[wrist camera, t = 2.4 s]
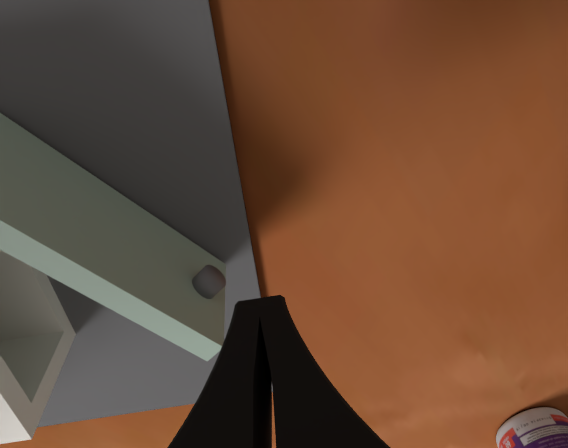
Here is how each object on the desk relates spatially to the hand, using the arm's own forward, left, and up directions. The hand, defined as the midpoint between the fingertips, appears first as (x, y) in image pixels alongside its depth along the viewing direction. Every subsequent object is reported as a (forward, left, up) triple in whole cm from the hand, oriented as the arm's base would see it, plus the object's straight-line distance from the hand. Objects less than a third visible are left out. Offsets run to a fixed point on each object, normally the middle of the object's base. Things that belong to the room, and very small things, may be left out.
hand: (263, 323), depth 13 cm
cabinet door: (+1, +6, -8) cm, 10 cm away
